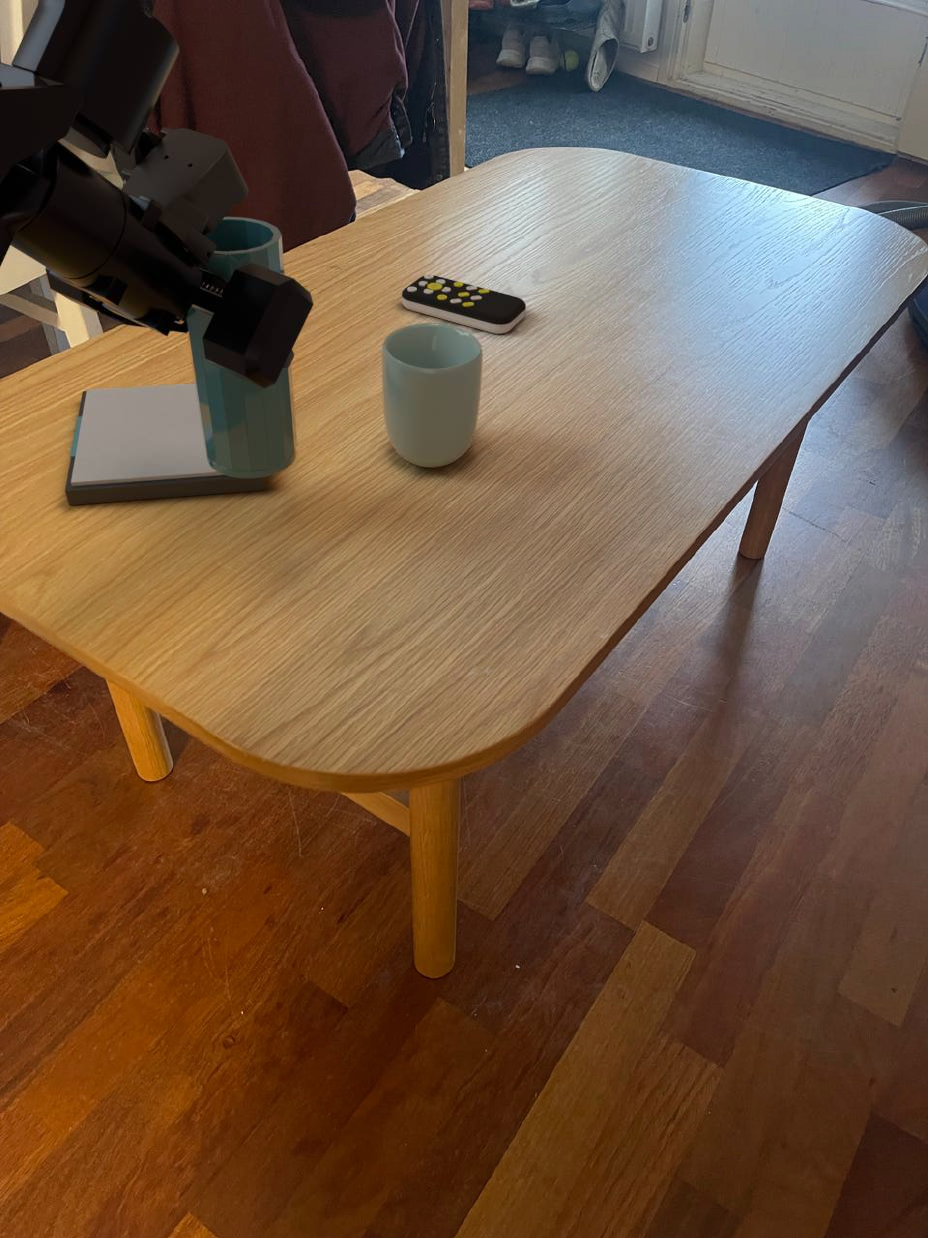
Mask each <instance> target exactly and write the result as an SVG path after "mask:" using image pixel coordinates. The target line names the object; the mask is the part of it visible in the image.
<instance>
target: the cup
mask: <svg viewBox="0 0 928 1238" xmlns="http://www.w3.org/2000/svg"><path fill="white" fill-rule="evenodd" d="M483 361H484V353H483V345H482V344H481V342H480V341H479V339H478V338H476V336H475V335H474V334H472V333H470V331H467V330H465V329H463V328H461V327H458V326H454V325H451V324H447V323H442V322H441V323H440V322H421V323H420V322H419V323H415V324H409V325H406V326H404V327H400V328H398V329H396V330H394V331H392V332H391V333H389V334H388V335H387V336H386V337H385V338H384V340H383V342H382V346H381V385H382V386H381V389H382V390H381V393H382V409H383V419H384V425H385V430H386V434H387V436H388V440H389V442H390V444H391V446H392V448H393V449H394V450H395V452H396V454H397V455H399V456H400V457H401V458H402V459H403V460H404V461H407V462H408V463H410V464H412V465H414V466H417V467H421V468H440V467H444V466H447V465H449V464H452V463H453V462H454V463H455V462H456V461H458V460H459V459H460V458H461V457H462V456H464V454H465V453H466V452H467V451H468V449H469V448H470V446H471V444H472V442H473V439H474V437H475V433H476V429H477V425H478V420H479V414H480V406H481V394H482V383H483Z"/></svg>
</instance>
